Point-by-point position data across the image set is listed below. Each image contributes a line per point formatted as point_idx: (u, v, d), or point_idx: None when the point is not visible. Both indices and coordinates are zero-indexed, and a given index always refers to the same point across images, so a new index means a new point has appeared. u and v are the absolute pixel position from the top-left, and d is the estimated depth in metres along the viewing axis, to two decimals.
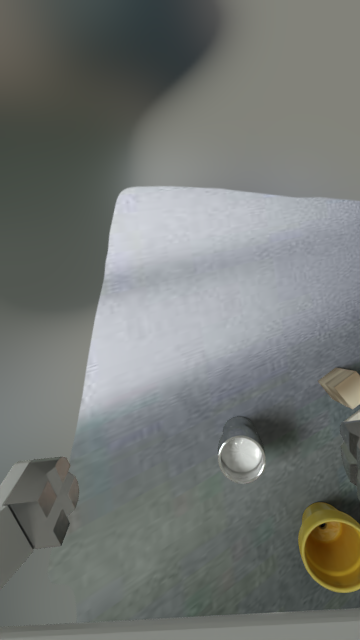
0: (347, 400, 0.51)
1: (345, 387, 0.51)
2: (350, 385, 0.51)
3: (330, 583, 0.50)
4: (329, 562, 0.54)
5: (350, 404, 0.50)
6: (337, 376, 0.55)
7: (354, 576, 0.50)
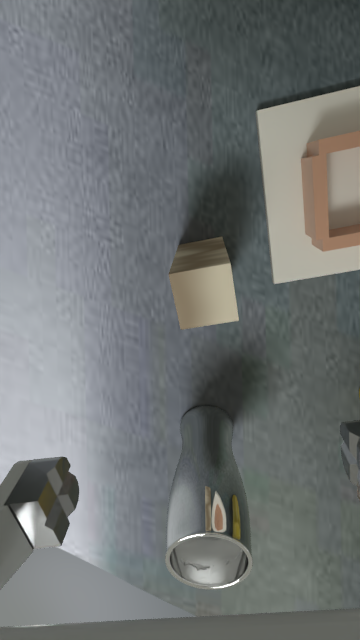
0: (217, 320, 0.23)
1: (190, 310, 0.23)
2: (191, 299, 0.22)
3: None
4: None
5: (227, 319, 0.23)
6: None
7: None
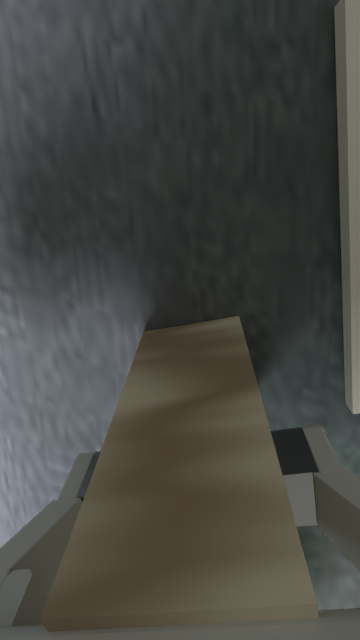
0: None
1: None
2: None
3: None
4: None
5: None
6: None
7: None
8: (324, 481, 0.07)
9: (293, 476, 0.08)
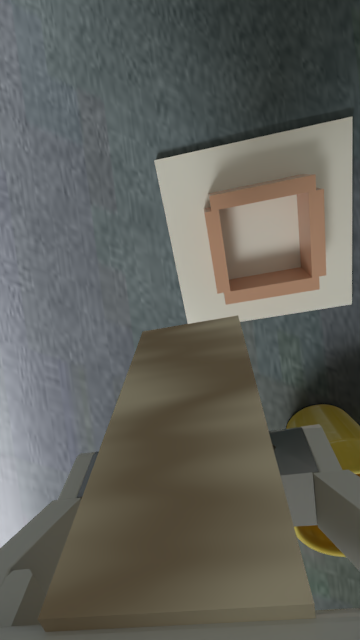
0: None
1: None
2: None
3: None
4: None
5: None
6: None
7: None
8: (324, 481, 0.07)
9: (293, 476, 0.08)
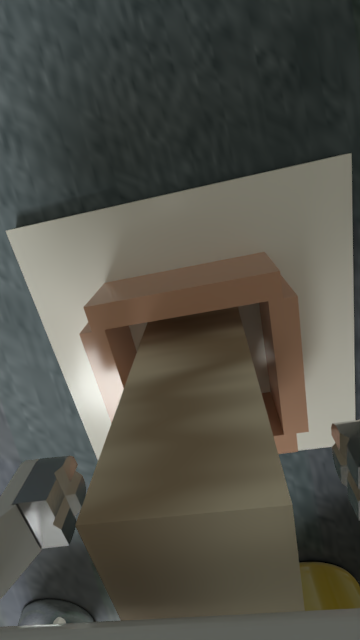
0: None
1: (157, 607, 0.07)
2: (158, 585, 0.07)
3: None
4: None
5: None
6: None
7: None
8: None
9: None
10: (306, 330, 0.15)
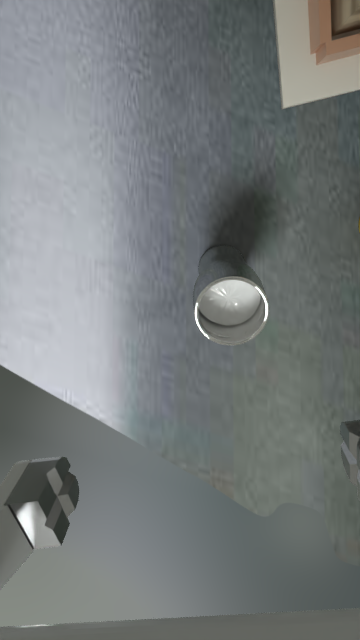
0: None
1: None
2: None
3: None
4: None
5: None
6: None
7: None
8: None
9: None
10: None
